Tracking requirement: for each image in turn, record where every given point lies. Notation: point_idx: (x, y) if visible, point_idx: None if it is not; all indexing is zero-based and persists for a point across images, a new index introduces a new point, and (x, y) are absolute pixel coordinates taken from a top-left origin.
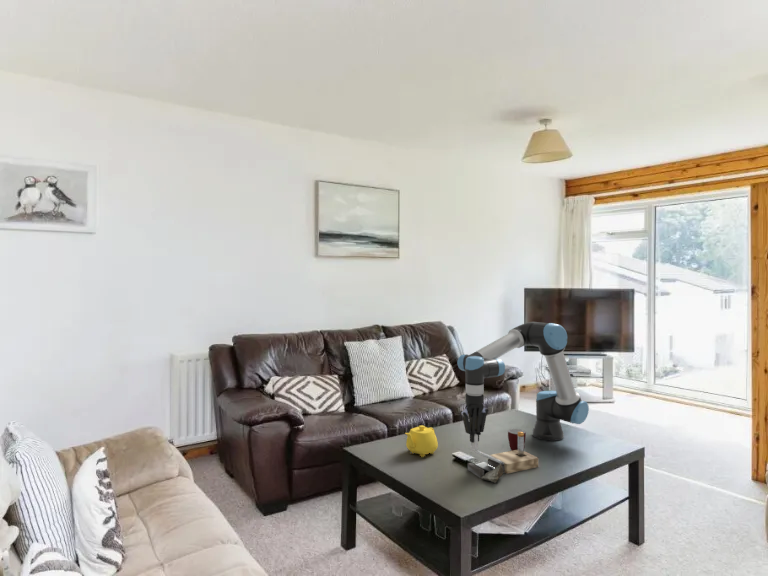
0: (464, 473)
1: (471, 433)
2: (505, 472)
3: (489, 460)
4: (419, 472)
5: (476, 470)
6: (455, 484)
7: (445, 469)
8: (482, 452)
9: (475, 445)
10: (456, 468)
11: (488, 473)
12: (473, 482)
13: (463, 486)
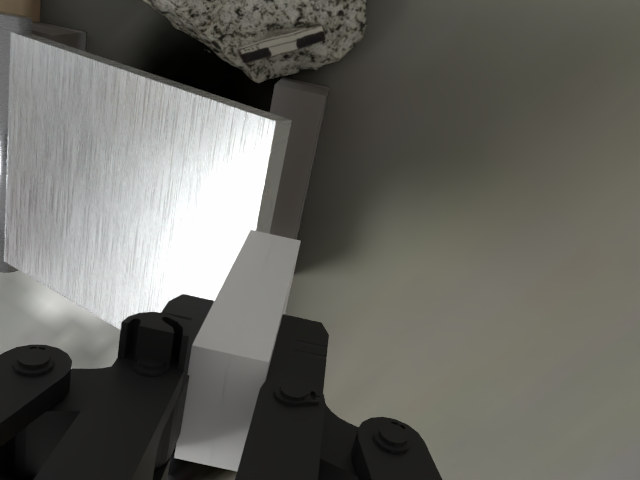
0: (369, 242)
1: (326, 431)
2: (38, 6)
3: None
4: (637, 470)
5: (313, 156)
6: (630, 125)
7: (430, 391)
8: (85, 287)
9: (282, 269)
10: (341, 352)
11: (263, 31)
12: (466, 49)
13: (615, 44)
